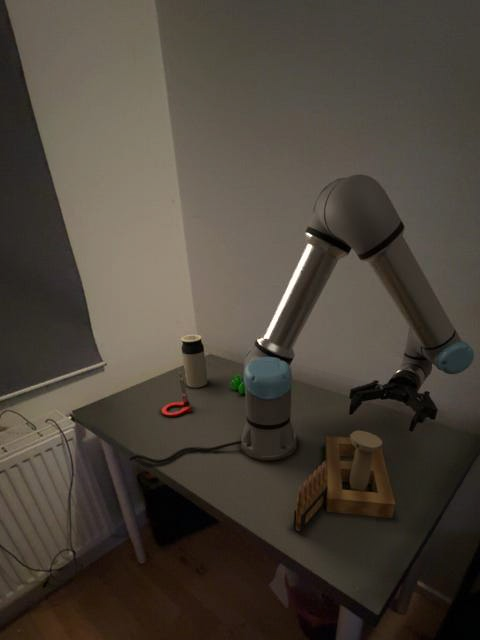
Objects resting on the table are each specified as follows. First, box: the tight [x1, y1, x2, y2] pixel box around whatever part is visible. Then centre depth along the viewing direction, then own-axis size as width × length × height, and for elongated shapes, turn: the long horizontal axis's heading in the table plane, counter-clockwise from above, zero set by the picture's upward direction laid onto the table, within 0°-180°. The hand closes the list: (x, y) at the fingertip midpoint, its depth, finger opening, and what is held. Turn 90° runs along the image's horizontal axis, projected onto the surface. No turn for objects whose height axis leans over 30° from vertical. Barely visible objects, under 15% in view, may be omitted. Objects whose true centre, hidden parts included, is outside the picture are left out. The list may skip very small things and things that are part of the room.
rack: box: [324, 435, 396, 519], centre depth 82 cm, size 13×23×4 cm, turn 169°
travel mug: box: [180, 334, 208, 388], centre depth 128 cm, size 8×8×18 cm
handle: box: [348, 430, 383, 492], centre depth 75 cm, size 5×6×15 cm
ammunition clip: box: [292, 460, 328, 535], centre depth 71 cm, size 11×2×12 cm, turn 140°
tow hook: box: [161, 371, 192, 418], centre depth 113 cm, size 8×13×9 cm
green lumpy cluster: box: [229, 374, 245, 396], centre depth 126 cm, size 15×15×7 cm
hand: (380, 417), depth 79 cm, fingers open, 13 cm apart
